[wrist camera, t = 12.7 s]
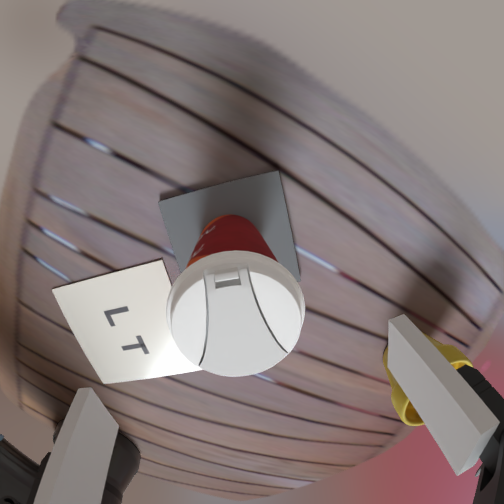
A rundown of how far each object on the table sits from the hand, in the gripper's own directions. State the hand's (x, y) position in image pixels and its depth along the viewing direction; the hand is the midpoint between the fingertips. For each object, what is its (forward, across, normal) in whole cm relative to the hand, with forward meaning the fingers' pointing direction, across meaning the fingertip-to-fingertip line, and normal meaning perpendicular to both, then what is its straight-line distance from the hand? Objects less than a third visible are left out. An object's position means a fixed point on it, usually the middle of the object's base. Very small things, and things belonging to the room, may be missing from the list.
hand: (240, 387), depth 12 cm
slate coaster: (+19, 0, 0) cm, 19 cm away
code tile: (+19, -14, -7) cm, 24 cm away
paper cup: (+18, 0, 0) cm, 18 cm away
